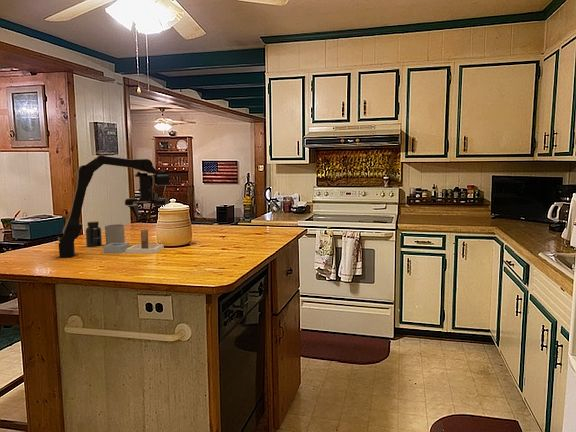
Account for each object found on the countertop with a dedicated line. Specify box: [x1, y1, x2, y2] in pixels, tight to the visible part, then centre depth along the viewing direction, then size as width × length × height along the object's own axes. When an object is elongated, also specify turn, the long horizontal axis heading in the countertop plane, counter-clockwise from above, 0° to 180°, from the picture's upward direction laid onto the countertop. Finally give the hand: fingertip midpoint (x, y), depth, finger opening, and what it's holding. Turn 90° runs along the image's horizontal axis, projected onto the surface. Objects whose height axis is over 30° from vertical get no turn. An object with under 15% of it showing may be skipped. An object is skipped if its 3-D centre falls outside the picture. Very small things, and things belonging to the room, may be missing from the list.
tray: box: [125, 243, 165, 254], centre depth 194 cm, size 11×13×2 cm
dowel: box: [140, 229, 149, 249], centre depth 194 cm, size 3×3×9 cm
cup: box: [104, 223, 126, 245], centre depth 208 cm, size 8×8×10 cm
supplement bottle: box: [85, 220, 103, 248], centre depth 207 cm, size 7×7×12 cm
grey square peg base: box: [102, 242, 130, 254], centre depth 194 cm, size 8×8×4 cm
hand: (148, 220), depth 202 cm, fingers open, 9 cm apart
